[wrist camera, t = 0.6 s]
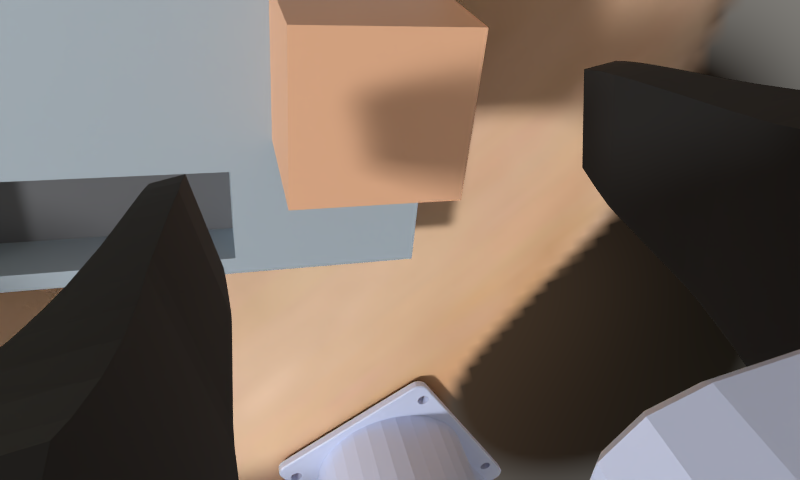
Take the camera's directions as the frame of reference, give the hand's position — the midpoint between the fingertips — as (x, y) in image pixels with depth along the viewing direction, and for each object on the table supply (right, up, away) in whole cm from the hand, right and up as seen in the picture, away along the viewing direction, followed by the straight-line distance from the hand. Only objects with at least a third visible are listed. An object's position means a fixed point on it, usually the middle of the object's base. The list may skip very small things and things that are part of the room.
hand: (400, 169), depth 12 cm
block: (-1, +4, +7) cm, 8 cm away
